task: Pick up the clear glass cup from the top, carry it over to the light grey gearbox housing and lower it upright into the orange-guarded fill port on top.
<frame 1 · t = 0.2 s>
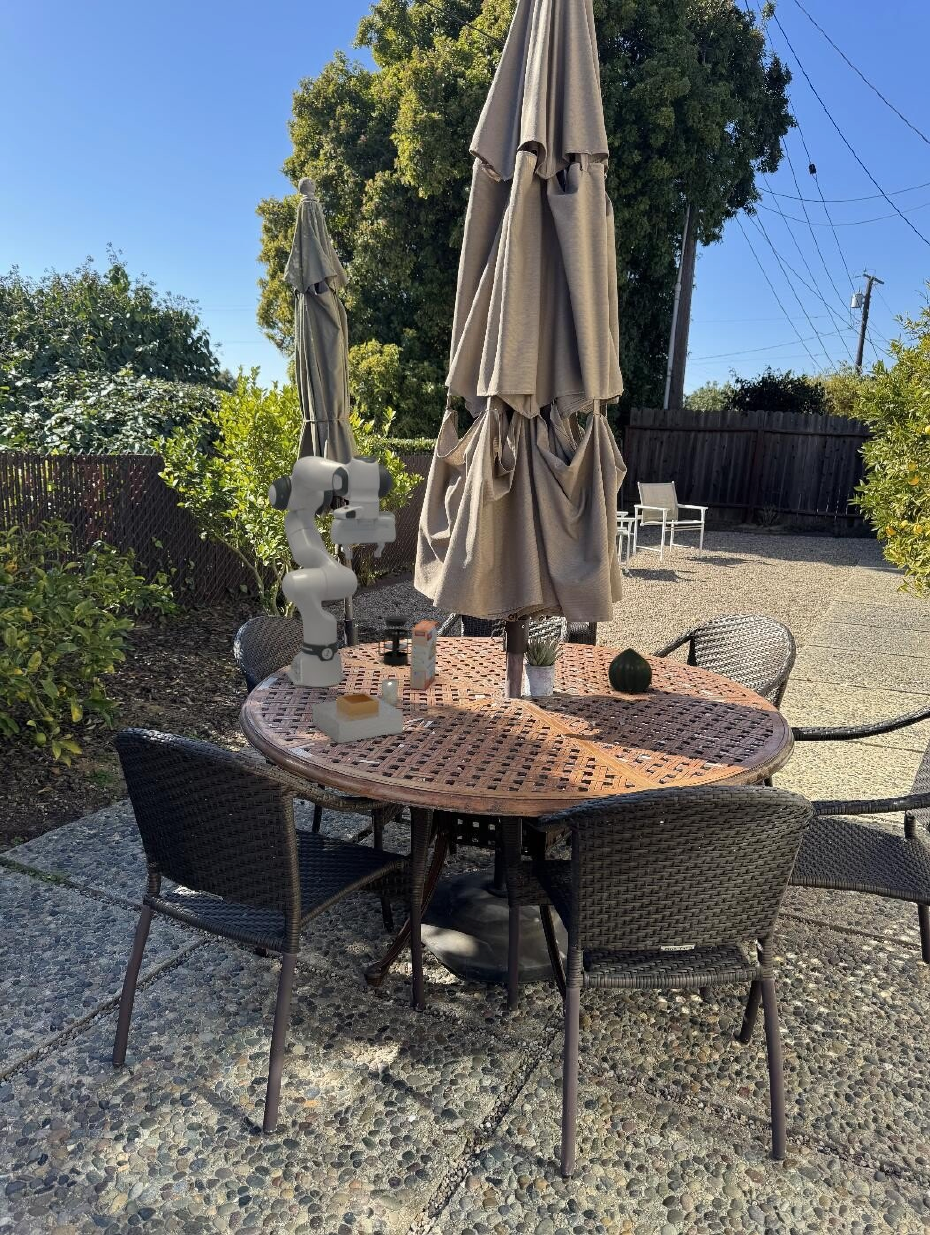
hand: (363, 557, 259), 47 cm above the table, tool pointing down, fingers open, 8 cm apart
french press: (394, 663, 321), on the table
gearbox housing: (357, 728, 251), on the table
clear glass cup: (389, 705, 272), on the table
cracker box: (422, 684, 296), on the table
squash: (627, 690, 299), on the table
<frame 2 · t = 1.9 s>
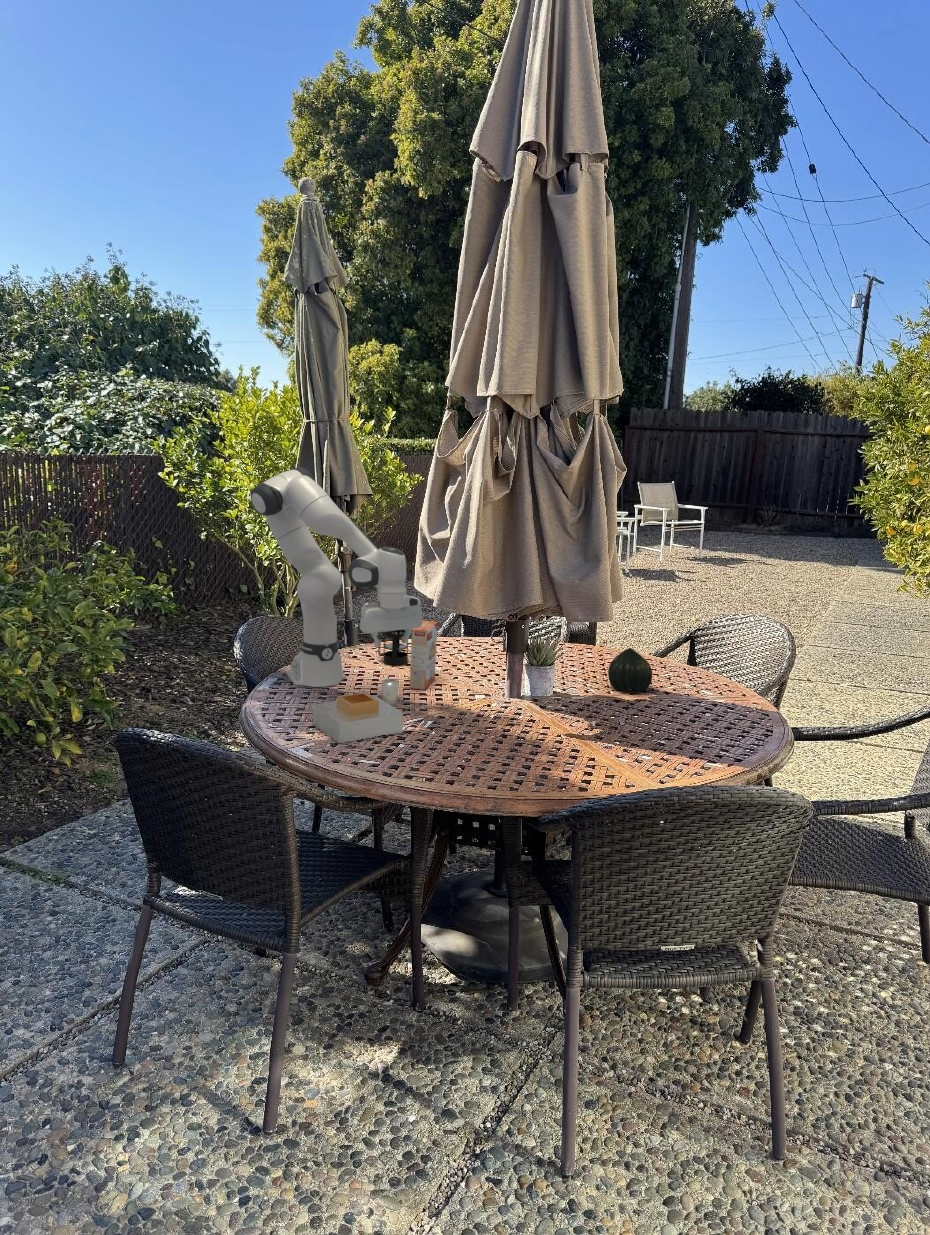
hand: (391, 644, 268), 20 cm above the table, tool pointing down, fingers open, 8 cm apart
nothing on the table moved.
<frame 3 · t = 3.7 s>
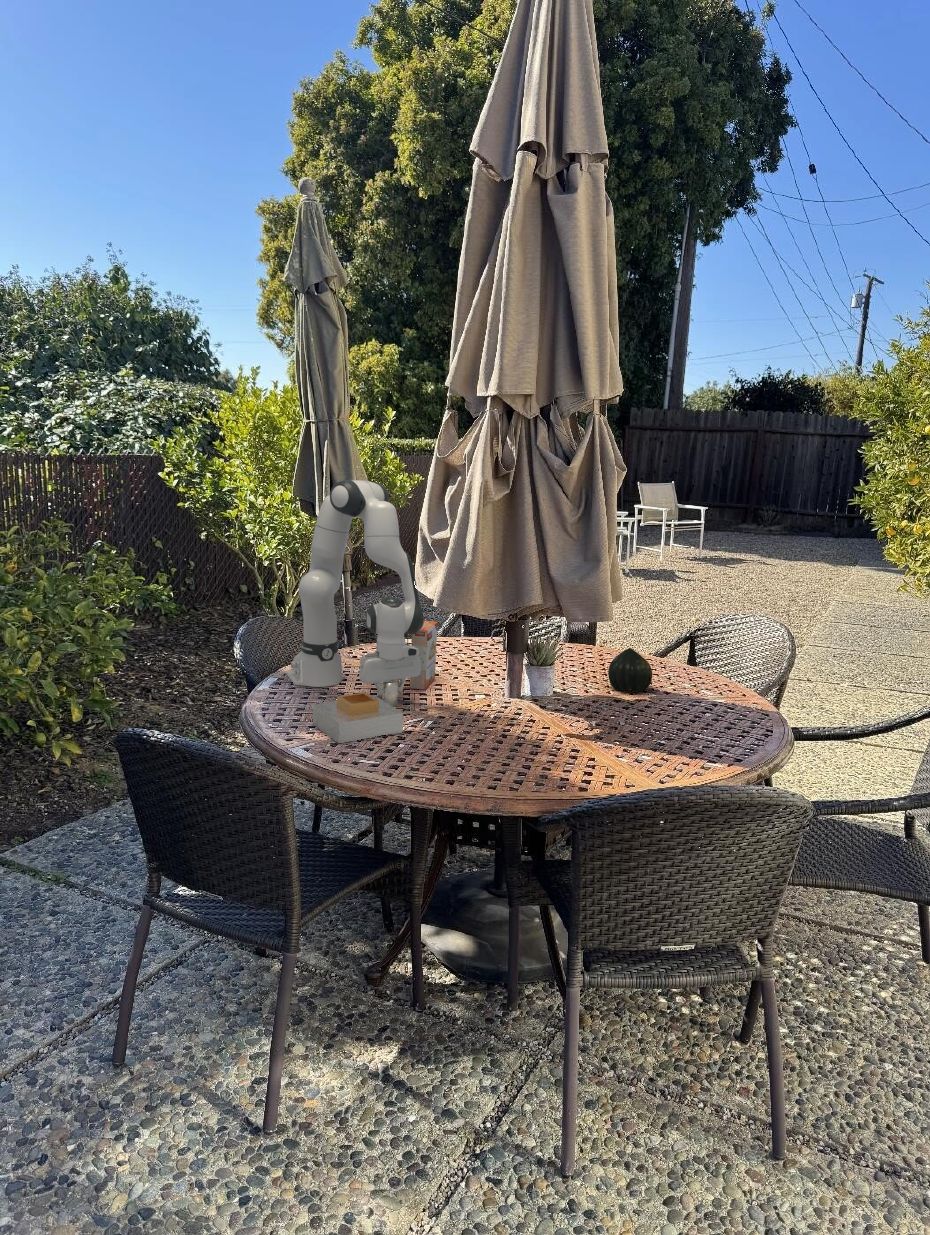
hand: (389, 693, 271), 4 cm above the table, tool pointing down, fingers closed on clear glass cup, 5 cm apart
clear glass cup: (389, 705, 272), on the table, touching gripper
everything else where it was.
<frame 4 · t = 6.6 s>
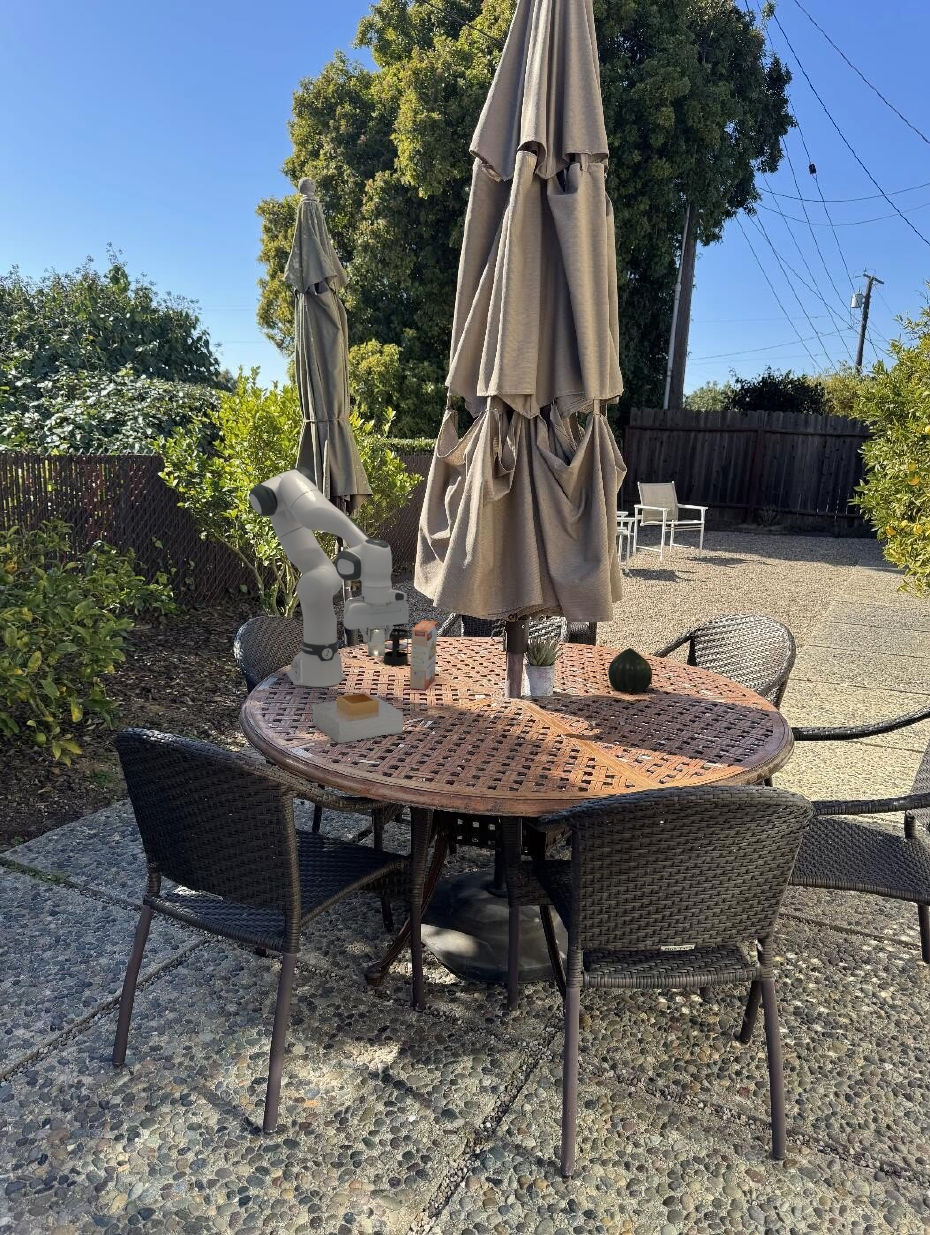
hand: (376, 640, 257), 24 cm above the table, tool pointing down, fingers closed on clear glass cup, 5 cm apart
clear glass cup: (376, 654, 258), point 19 cm above the table, touching gripper
everything else where it was.
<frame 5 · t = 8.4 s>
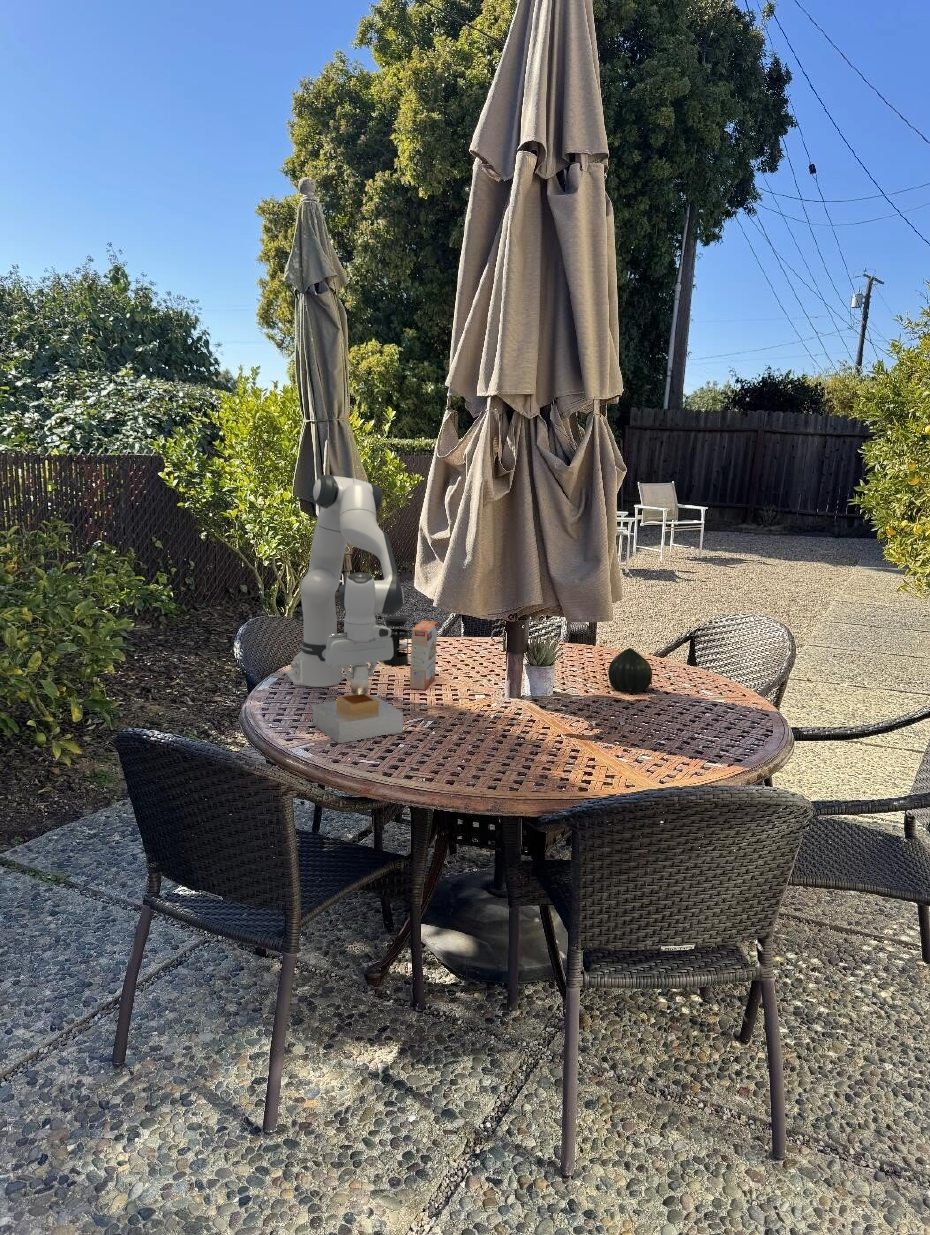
hand: (359, 677, 248), 15 cm above the table, tool pointing down, fingers closed on clear glass cup, 5 cm apart
clear glass cup: (359, 691, 249), point 11 cm above the table, touching gripper
everything else where it was.
when the fingers open (11 cm above the table, at t = 9.7 s): clear glass cup stays where it is, resting on gearbox housing.
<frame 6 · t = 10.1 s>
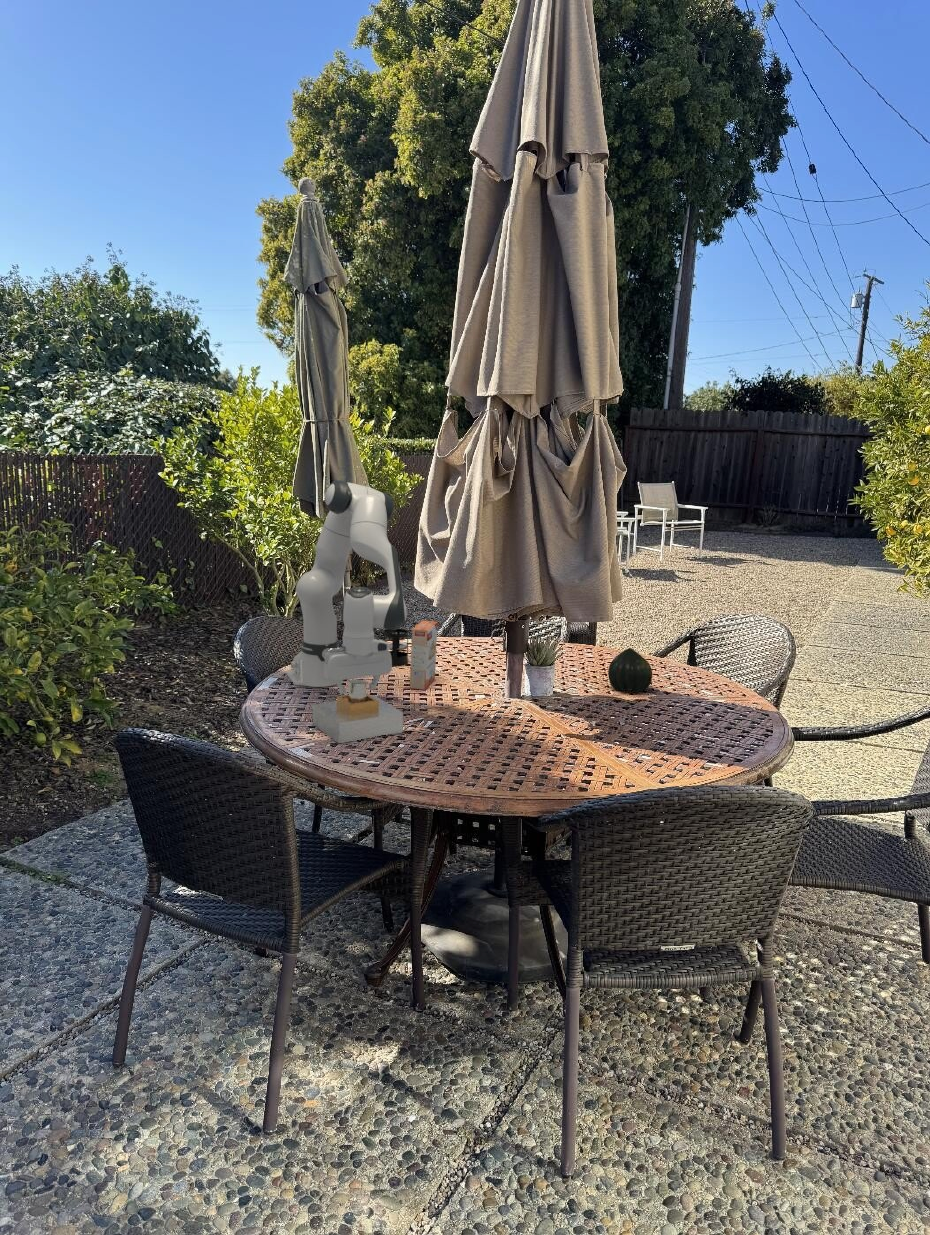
hand: (357, 691, 249), 11 cm above the table, tool pointing down, fingers open, 8 cm apart
clear glass cup: (357, 708, 250), point 6 cm above the table, touching gearbox housing
everything else where it was.
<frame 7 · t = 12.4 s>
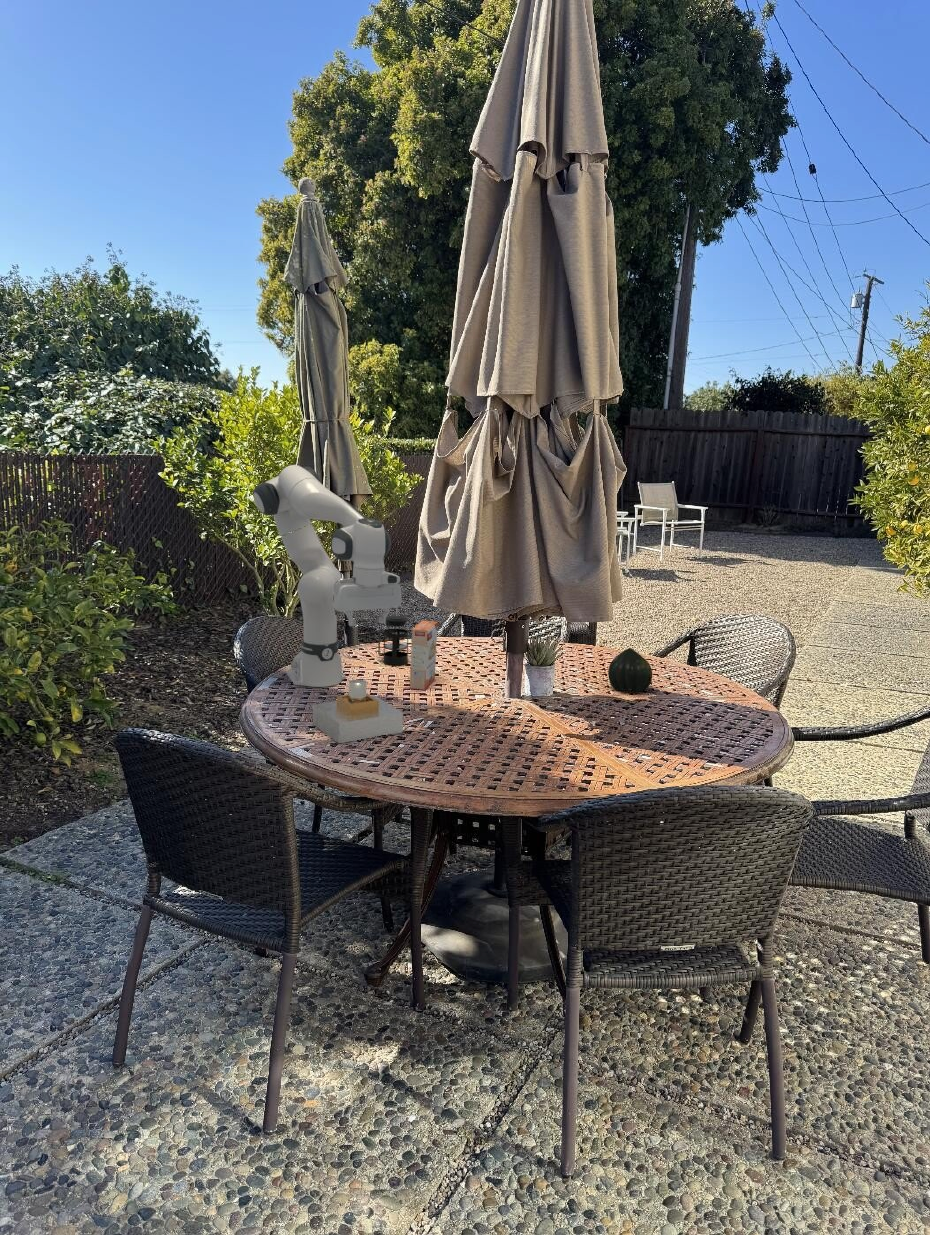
hand: (367, 624, 248), 30 cm above the table, tool pointing down, fingers open, 8 cm apart
nothing on the table moved.
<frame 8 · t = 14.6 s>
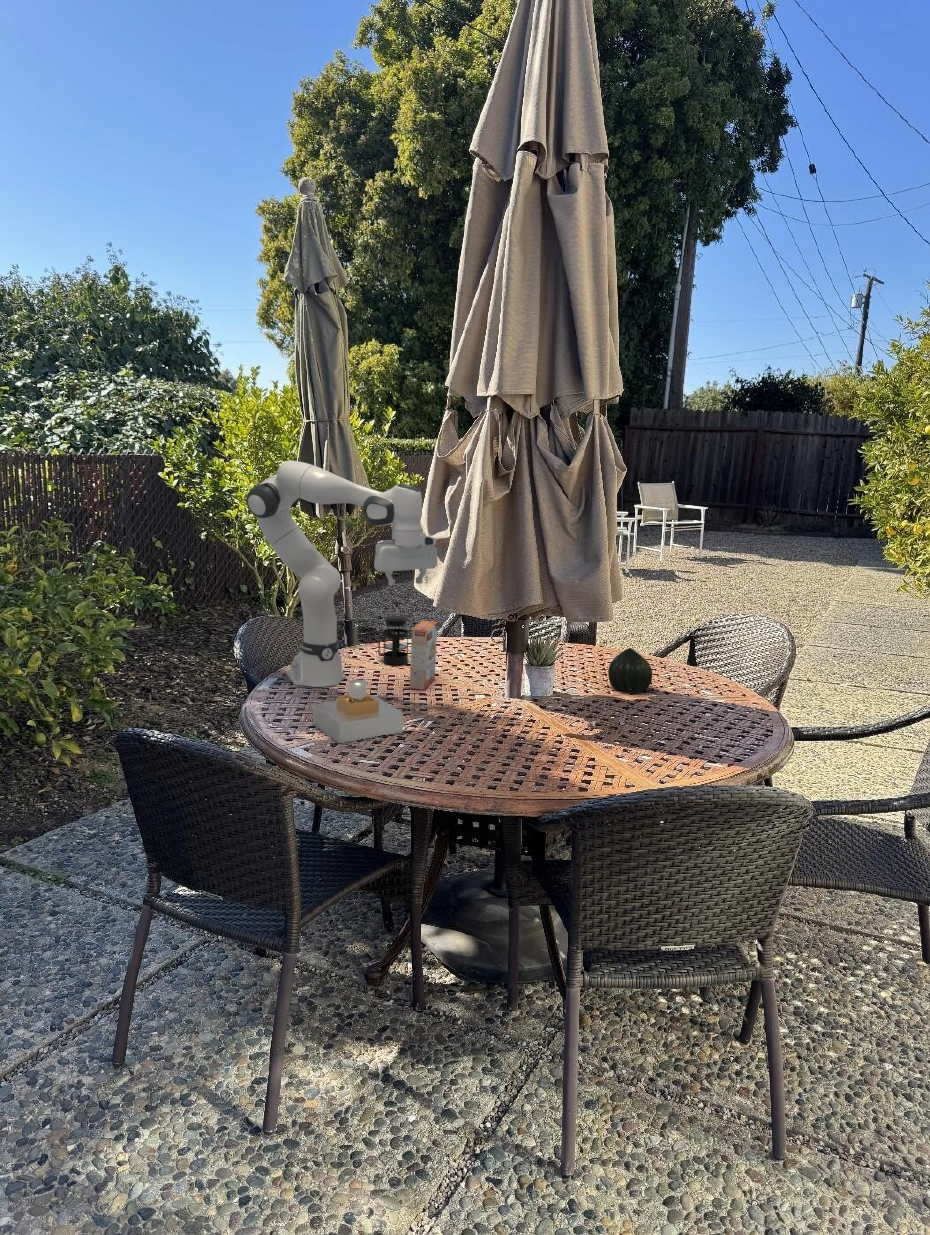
hand: (405, 584, 263), 39 cm above the table, tool pointing down, fingers open, 8 cm apart
nothing on the table moved.
at the end: clear glass cup 0.0 cm off-centre on the gearbox housing, point 6.0 cm above the gearbox housing's base; clear glass cup tilted 0°; the gripper is holding nothing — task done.
